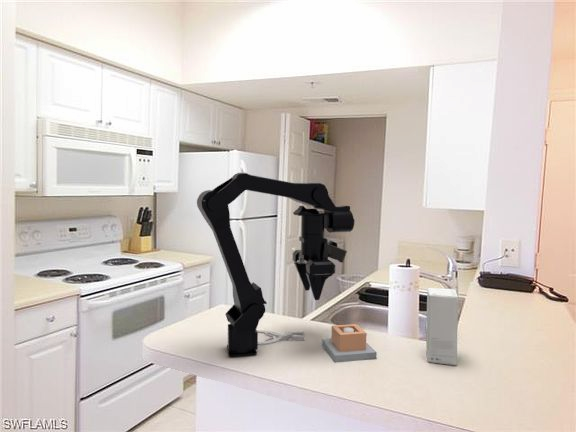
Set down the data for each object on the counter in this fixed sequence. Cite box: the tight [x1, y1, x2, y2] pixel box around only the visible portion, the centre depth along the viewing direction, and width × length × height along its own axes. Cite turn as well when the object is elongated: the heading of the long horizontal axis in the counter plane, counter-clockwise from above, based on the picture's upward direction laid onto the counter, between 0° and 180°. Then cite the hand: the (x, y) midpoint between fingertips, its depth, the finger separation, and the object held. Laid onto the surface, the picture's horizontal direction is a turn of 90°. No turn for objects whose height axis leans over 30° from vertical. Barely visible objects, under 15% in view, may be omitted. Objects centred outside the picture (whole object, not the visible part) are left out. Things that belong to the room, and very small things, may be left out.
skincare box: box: [426, 287, 459, 366], centre depth 97 cm, size 8×7×16 cm
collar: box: [330, 323, 367, 352], centre depth 100 cm, size 6×6×4 cm
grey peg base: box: [321, 327, 378, 363], centre depth 100 cm, size 10×10×6 cm
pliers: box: [256, 329, 305, 346], centre depth 109 cm, size 10×2×15 cm
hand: (311, 294), depth 106 cm, fingers open, 9 cm apart
